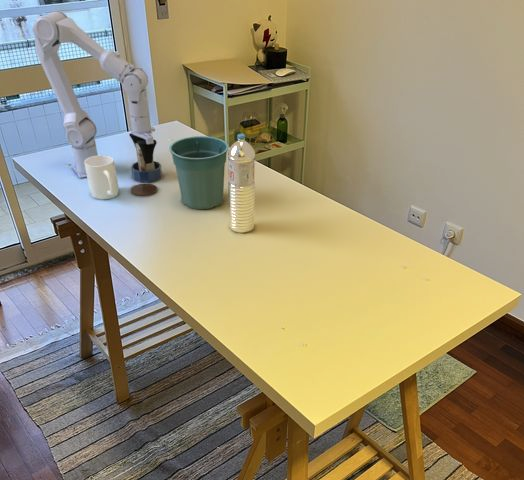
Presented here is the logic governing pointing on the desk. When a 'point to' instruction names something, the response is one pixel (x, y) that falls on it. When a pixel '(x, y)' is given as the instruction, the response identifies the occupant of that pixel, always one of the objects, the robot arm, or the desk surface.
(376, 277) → the desk surface
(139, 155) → the drug facts carton
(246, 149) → the water bottle
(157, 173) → the blue ring
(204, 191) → the flower pot
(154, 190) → the walnut coaster
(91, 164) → the cup
